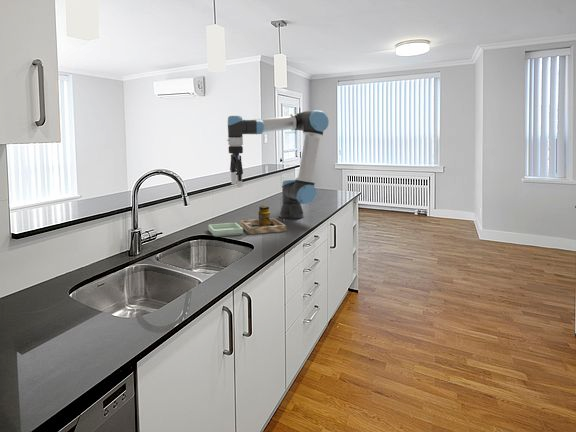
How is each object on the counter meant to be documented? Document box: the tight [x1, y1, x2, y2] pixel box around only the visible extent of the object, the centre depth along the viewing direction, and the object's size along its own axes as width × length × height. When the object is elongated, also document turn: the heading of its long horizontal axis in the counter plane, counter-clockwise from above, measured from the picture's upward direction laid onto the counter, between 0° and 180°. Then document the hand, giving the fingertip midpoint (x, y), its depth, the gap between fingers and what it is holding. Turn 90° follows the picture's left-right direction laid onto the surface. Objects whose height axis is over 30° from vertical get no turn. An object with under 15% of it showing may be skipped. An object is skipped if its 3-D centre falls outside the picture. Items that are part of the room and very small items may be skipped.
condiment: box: [252, 205, 271, 228], centre depth 220 cm, size 7×8×12 cm
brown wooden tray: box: [239, 217, 287, 235], centre depth 221 cm, size 20×20×3 cm
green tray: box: [208, 222, 244, 238], centre depth 212 cm, size 15×15×3 cm
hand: (236, 185), depth 219 cm, fingers open, 13 cm apart
